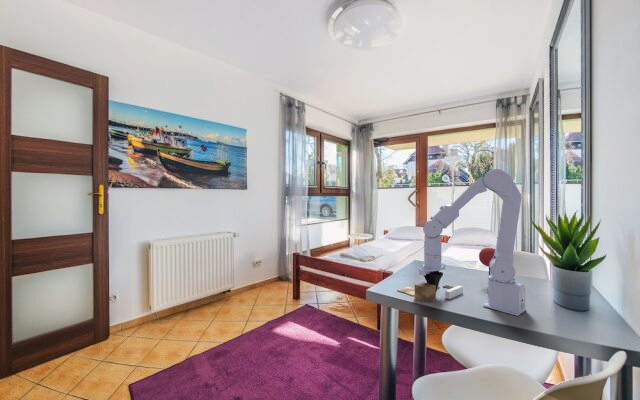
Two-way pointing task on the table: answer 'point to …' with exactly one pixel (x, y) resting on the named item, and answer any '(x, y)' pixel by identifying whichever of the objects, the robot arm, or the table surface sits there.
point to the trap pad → (448, 287)
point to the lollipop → (486, 256)
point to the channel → (453, 292)
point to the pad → (407, 290)
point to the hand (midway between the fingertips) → (432, 292)
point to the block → (425, 292)
